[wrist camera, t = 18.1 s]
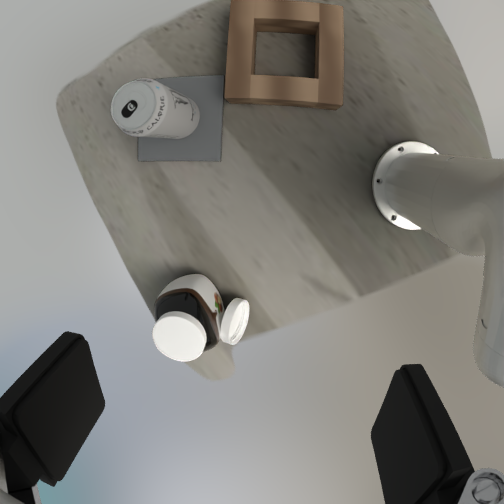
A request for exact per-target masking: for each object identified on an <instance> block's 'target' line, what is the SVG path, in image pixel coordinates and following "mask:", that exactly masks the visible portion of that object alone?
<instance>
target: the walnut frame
mask: <svg viewBox="0 0 504 504" xmlns="http://www.w3.org/2000/svg"><path fill="white" fill-rule="evenodd" d="M257 32H282V33H297V34H309V35H315V79H314V78H303V77H290V76H272V75H255V57H256V37H257ZM343 80H344V25H343V6H337V5H330V4H322V3H313V2H302V1H288V0H231V6H230V19H229V32H228V47H227V62H226V79H225V99H226V100H227V101H228V102H230V103H231V104H264V105H283V106H297V107H309V108H319V109H329V110H337V109H338V108H340V107H341V106H342V105H343Z"/></svg>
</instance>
